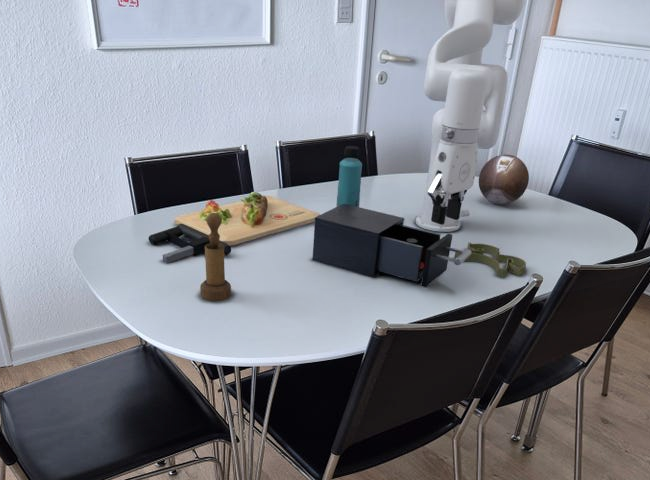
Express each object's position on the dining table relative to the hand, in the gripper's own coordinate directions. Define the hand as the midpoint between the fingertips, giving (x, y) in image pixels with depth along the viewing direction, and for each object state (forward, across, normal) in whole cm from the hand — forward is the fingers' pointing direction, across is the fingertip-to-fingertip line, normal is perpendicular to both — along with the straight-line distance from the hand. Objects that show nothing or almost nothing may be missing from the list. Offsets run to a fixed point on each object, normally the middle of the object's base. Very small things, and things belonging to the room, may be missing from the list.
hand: (445, 219), depth 143 cm
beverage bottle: (+15, +16, +44) cm, 49 cm away
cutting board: (+15, -9, +57) cm, 59 cm away
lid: (+13, -2, +7) cm, 15 cm away
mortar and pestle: (+15, -44, +25) cm, 53 cm away
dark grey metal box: (+15, -5, +20) cm, 26 cm away
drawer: (+14, -1, +4) cm, 15 cm away
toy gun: (+15, -35, +50) cm, 63 cm away
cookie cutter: (+15, +21, -2) cm, 26 cm away
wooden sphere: (+15, +67, +25) cm, 73 cm away
